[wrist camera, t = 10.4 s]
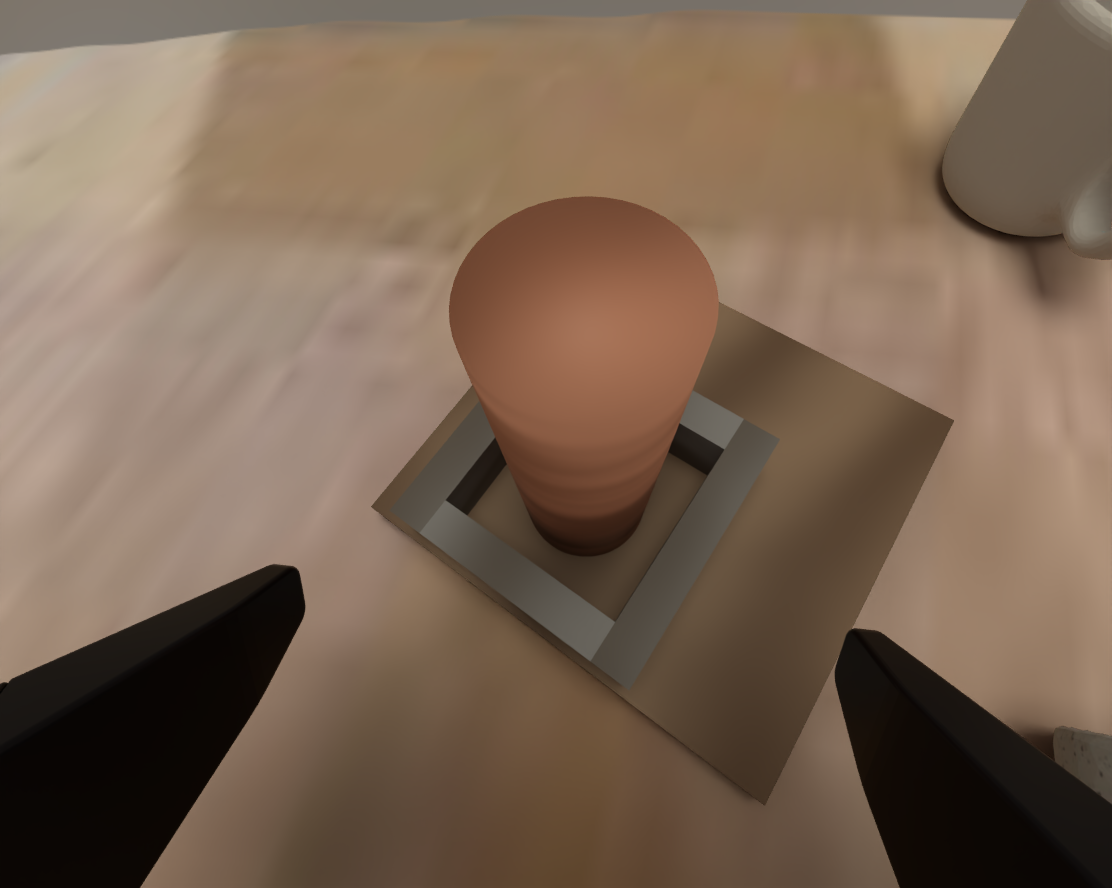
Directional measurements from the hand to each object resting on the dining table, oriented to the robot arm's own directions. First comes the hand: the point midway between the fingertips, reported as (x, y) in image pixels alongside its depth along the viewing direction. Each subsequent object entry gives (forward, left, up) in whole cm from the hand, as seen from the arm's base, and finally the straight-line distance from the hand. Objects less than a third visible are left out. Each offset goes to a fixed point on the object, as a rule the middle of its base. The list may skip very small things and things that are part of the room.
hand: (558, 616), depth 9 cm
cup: (-6, -25, -10) cm, 27 cm away
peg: (+2, -4, -8) cm, 10 cm away
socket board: (+1, -6, -9) cm, 11 cm away
